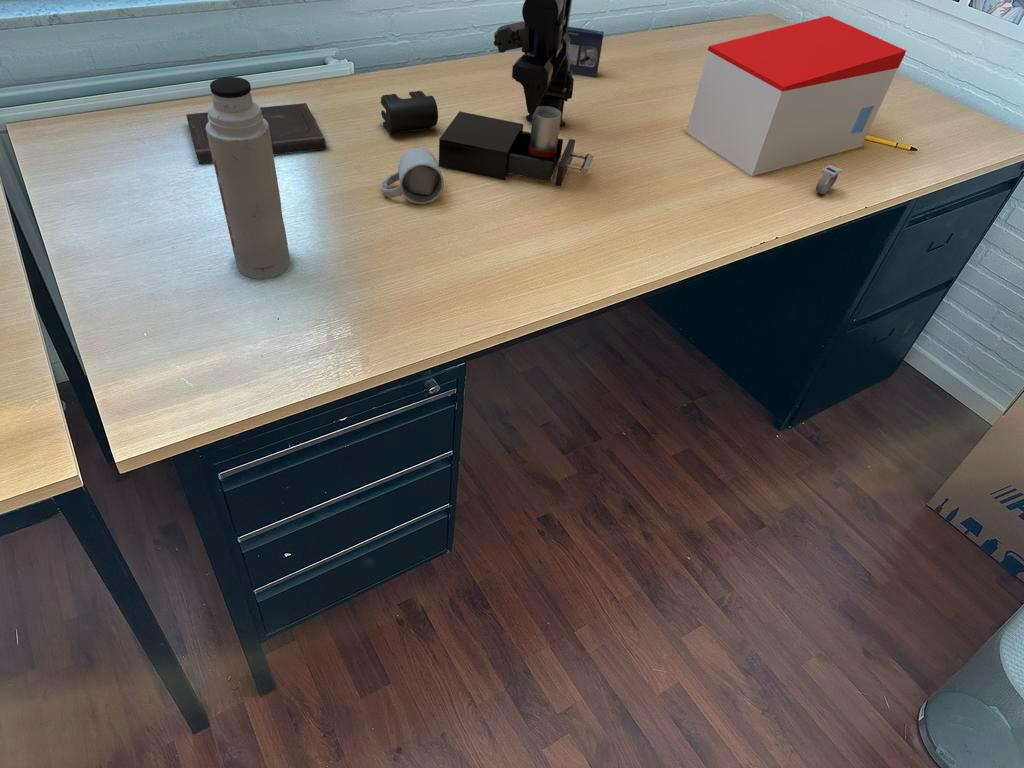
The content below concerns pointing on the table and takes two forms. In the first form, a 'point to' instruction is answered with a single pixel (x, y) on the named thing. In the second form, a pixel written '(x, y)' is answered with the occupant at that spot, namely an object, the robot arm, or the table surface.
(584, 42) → the vhs cassette tape
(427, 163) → the ceramic mug
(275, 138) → the hardcover book
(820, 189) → the wristwatch
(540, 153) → the grey metal cylinder
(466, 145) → the cabinet
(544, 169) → the drawer
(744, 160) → the bookstore
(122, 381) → the table surface
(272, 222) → the thermos bottle
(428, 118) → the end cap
